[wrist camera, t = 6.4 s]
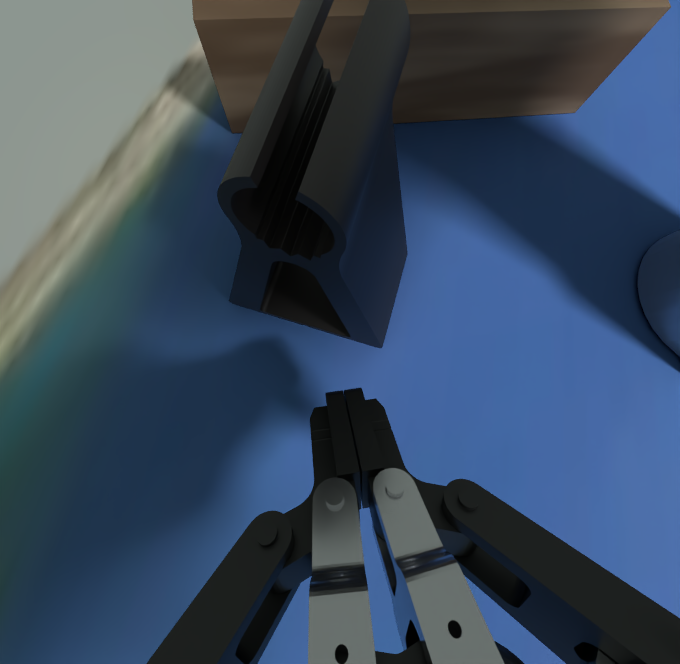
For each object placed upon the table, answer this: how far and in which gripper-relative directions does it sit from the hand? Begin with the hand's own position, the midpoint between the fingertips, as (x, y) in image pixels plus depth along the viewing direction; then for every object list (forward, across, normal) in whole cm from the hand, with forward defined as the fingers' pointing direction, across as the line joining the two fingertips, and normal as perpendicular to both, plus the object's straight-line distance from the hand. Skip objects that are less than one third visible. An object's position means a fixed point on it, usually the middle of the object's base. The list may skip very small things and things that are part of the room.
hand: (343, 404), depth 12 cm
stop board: (+16, -8, -10) cm, 20 cm away
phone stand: (+8, 0, -2) cm, 8 cm away
